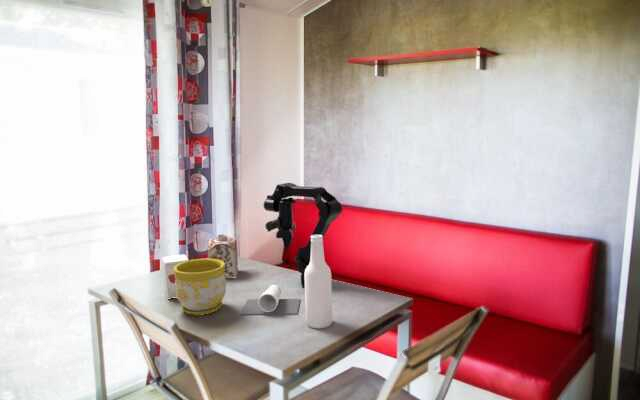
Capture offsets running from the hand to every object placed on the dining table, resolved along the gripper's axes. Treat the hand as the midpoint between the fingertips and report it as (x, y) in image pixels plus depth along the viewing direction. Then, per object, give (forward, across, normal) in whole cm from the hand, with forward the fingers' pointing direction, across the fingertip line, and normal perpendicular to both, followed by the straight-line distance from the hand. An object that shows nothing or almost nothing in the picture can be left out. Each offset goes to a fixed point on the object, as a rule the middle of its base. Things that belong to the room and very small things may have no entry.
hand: (286, 249), depth 207 cm
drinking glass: (+10, +22, -3) cm, 25 cm away
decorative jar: (+13, -7, -29) cm, 33 cm away
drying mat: (+13, +31, -3) cm, 34 cm away
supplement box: (+13, +17, -42) cm, 47 cm away
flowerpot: (+13, +32, -28) cm, 45 cm away
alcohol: (+13, +46, +15) cm, 50 cm away
